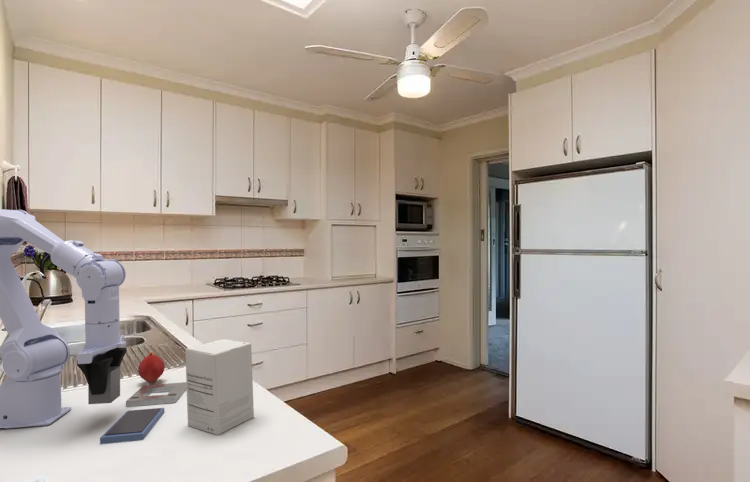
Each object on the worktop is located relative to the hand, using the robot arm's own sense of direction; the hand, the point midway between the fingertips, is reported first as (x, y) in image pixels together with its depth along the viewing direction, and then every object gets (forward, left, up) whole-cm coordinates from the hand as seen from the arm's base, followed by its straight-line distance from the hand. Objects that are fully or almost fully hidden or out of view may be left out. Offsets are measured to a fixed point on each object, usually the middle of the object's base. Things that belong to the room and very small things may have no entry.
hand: (103, 389), depth 82 cm
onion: (+1, +22, -7) cm, 23 cm away
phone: (+7, -4, -7) cm, 11 cm away
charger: (0, 0, -2) cm, 2 cm away
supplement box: (+23, -5, -7) cm, 25 cm away
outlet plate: (+6, +12, -6) cm, 15 cm away
